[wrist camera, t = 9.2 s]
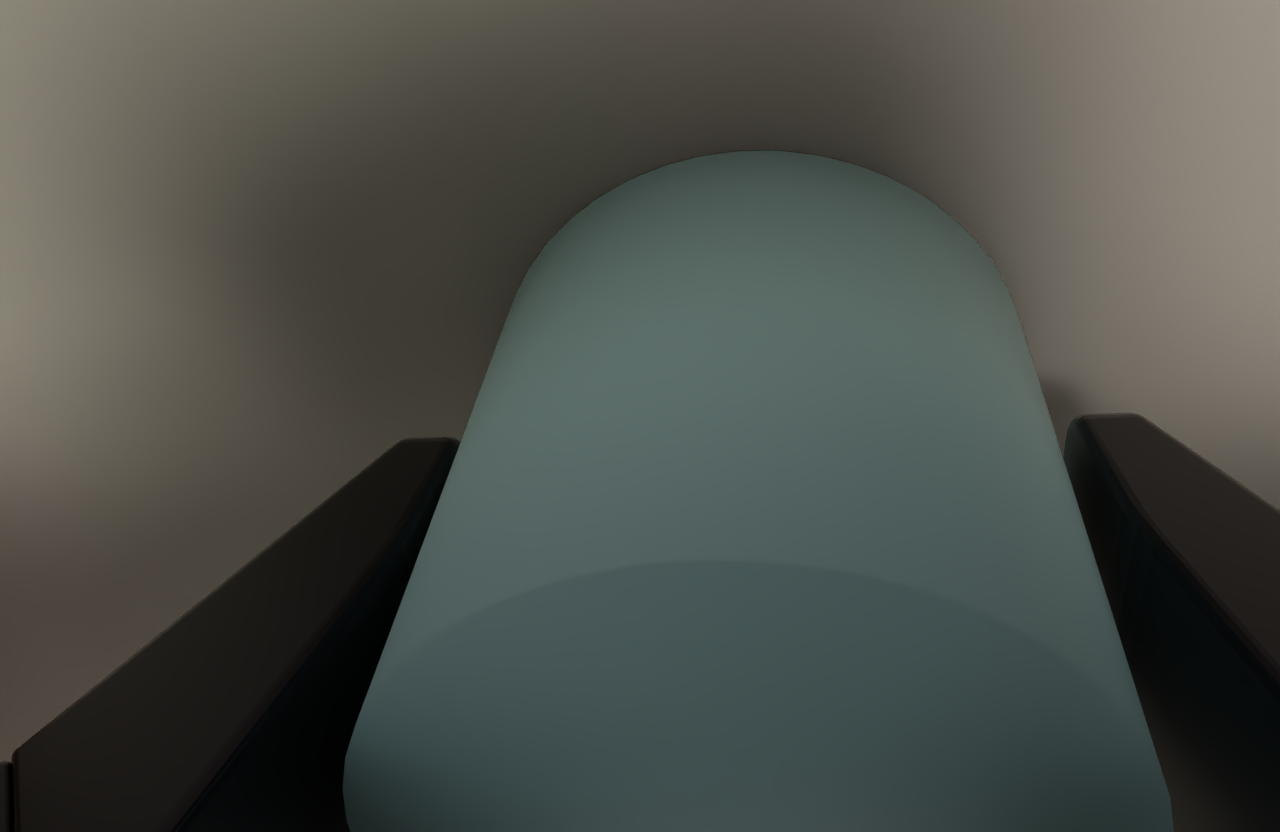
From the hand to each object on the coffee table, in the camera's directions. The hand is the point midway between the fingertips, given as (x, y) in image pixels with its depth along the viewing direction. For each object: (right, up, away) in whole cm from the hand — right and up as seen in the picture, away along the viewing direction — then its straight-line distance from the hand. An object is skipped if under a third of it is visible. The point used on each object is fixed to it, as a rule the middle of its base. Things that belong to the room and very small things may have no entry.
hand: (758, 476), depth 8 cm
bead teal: (0, +1, +1) cm, 1 cm away
